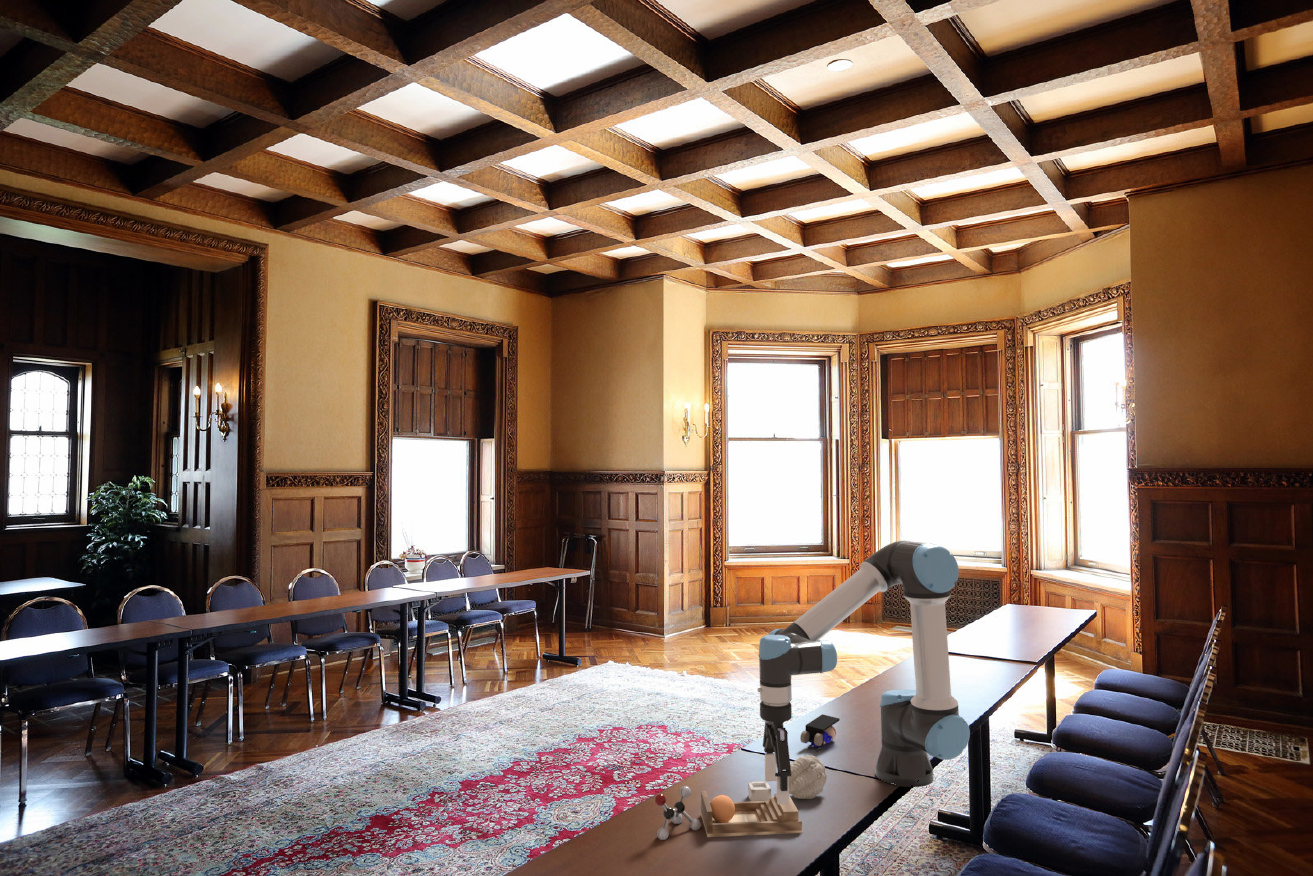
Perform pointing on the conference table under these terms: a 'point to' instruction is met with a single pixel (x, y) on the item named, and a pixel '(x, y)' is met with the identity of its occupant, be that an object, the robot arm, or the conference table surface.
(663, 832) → the molecular model
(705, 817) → the wooden stepped tray
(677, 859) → the conference table surface
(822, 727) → the figurine character
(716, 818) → the ball
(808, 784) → the fossil replica
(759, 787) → the white open box
